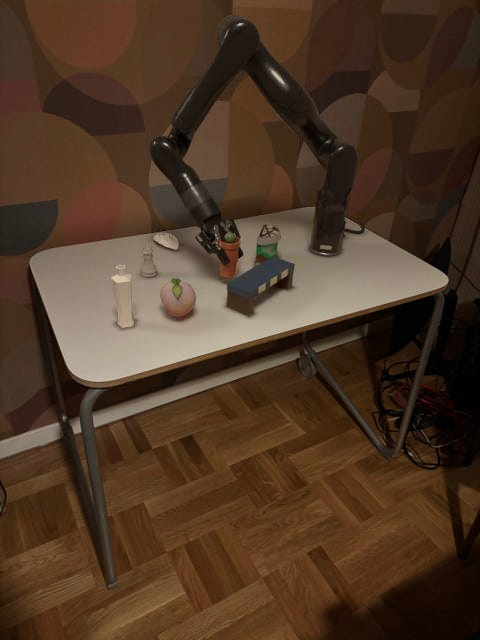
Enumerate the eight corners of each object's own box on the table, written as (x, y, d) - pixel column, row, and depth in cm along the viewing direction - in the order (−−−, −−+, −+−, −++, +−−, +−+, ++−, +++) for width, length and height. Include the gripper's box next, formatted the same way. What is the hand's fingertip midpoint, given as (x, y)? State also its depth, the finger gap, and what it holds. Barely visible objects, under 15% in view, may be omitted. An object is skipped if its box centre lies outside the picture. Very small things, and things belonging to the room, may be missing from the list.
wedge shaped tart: (275, 272, 144) (278, 240, 138) (254, 269, 145) (256, 237, 139) (281, 254, 154) (284, 223, 148) (261, 251, 155) (263, 221, 149)
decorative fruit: (200, 322, 121) (200, 286, 115) (167, 328, 118) (165, 291, 113) (190, 303, 128) (189, 268, 122) (158, 307, 125) (156, 272, 120)
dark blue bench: (271, 278, 141) (273, 256, 137) (292, 287, 137) (295, 264, 133) (226, 306, 127) (226, 282, 123) (248, 317, 124) (250, 292, 120)
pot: (229, 266, 139) (230, 226, 132) (243, 274, 136) (245, 233, 129) (213, 272, 136) (214, 231, 129) (227, 281, 132) (228, 239, 126)
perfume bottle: (117, 318, 121) (111, 262, 113) (135, 317, 121) (131, 262, 113) (114, 328, 117) (108, 271, 109) (134, 328, 117) (129, 271, 109)
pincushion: (185, 249, 154) (184, 231, 151) (167, 253, 151) (167, 236, 148) (164, 235, 162) (163, 218, 159) (147, 239, 158) (146, 222, 155)
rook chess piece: (160, 272, 141) (158, 246, 136) (151, 279, 137) (149, 252, 133) (146, 269, 142) (145, 243, 138) (137, 275, 139) (135, 249, 134)
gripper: (189, 205, 124) (225, 263, 125) (225, 191, 134) (259, 245, 134) (174, 219, 129) (208, 275, 130) (210, 205, 139) (242, 257, 140)
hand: (234, 260), depth 132 cm, fingers closed on pot, 5 cm apart
